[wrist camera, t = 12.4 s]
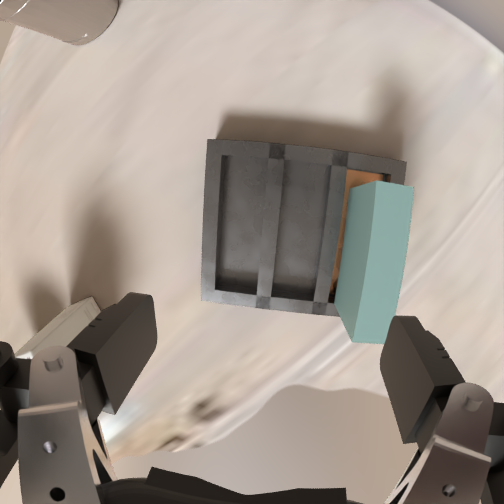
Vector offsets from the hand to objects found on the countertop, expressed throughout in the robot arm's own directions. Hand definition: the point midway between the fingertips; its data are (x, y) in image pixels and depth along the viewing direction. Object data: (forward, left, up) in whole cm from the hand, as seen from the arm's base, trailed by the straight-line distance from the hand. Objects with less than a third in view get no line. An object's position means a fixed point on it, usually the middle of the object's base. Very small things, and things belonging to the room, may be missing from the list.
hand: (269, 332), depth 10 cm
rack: (+2, +2, -24) cm, 24 cm away
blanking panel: (+3, +8, -22) cm, 24 cm away
